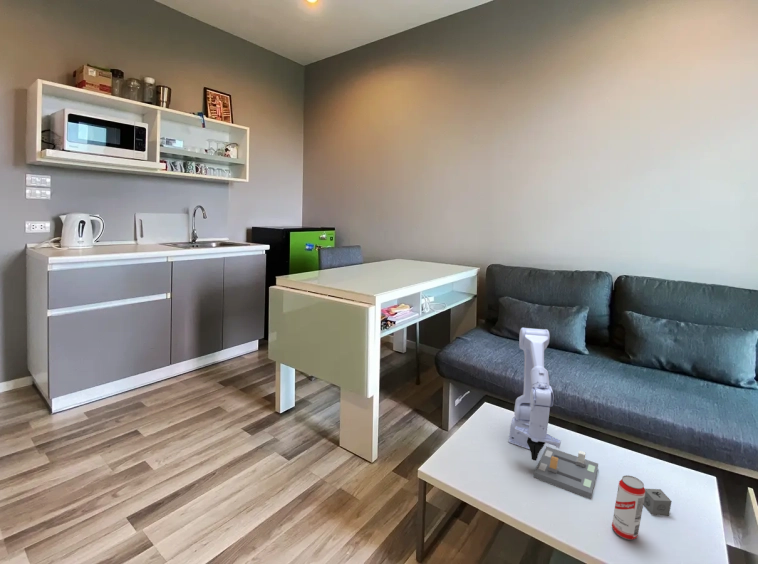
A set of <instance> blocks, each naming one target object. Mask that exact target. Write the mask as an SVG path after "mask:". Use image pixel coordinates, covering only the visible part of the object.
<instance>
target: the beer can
mask: <svg viewBox="0 0 758 564" xmlns="http://www.w3.org/2000/svg"><path fill="white" fill-rule="evenodd" d="M644 488H645V484H644V482H643V480H640V479H639V478H637V477H636V476H632V475H629V474H628V475H623V476H622V477H621V479H620V480H619V482H618V486H617V493H616V497H615V498H616V499H615V505H614V510H613V517H612V523H611V526H612V530H613V531H614V533H616V534H617V536H619V538H622V539H624V540H628V541H630V540H632V541H633V540H636V539H637V538H638V537H639V532H640V526H641V519H642V514H643V508H644V505H643V503H644V498H645V489H646V488H645V489H644Z"/></svg>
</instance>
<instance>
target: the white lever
mask: <svg viewBox="0 0 758 564" xmlns="http://www.w3.org/2000/svg"><path fill="white" fill-rule="evenodd" d="M577 454H578V455H577V457H578V458H577V460H576V465H578V466H581V467H584V468H585V464H586V461H585V459H586V452H585V451H583V450H578V453H577Z"/></svg>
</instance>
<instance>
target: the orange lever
mask: <svg viewBox="0 0 758 564" xmlns="http://www.w3.org/2000/svg"><path fill="white" fill-rule="evenodd" d="M557 465H558V458H557V457H554V456H552V457H551V461H550V464H549V467H548V471H551V472H554V473H557V472H558V468H559V467H558V466H557Z"/></svg>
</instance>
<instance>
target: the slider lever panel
mask: <svg viewBox="0 0 758 564" xmlns="http://www.w3.org/2000/svg"><path fill="white" fill-rule="evenodd" d="M552 456H554V457H557V458H558V465H557V466H558V467H559V468H558V472H557V473H554V472H551V471H548V467H549V464H550V461H551V457H552ZM577 458H578V455H574V454H570V453H567V452H565V451H561V450H559V449H556V448H554V447H550V446H547V445H546V446H545V448H544V451H543V453H542V455H541V457H540V459H539V461H538V463H537V466H536V467H535V470H534V472H533V478H534V479H537V480H539V481H542V482H545V483H547V484H550V485H551V486H554V487H555V486H556V487H557V488H560V489H563V490H565V491H568V492H571V493H574V494H577V495H579V496H581V497H583V498H586V499H590V500H592V496H593V495H592V494H593V492H594V491H593V490H594V486H595V481H596V477H597V473H598V469H599V463H598V462H596V461H595V462H594V461H591V460H588V459H586V458H585V461H586V464H585V468H584V467H581V466H578V465H576V460H577Z"/></svg>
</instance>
